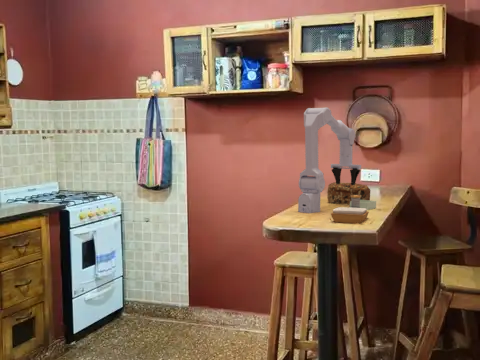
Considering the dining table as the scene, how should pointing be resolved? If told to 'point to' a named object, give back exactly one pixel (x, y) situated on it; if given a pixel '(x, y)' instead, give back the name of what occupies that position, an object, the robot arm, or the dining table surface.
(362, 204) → the bin
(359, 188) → the bread
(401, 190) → the dining table surface
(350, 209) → the soap dish
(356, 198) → the jar with copper lid
